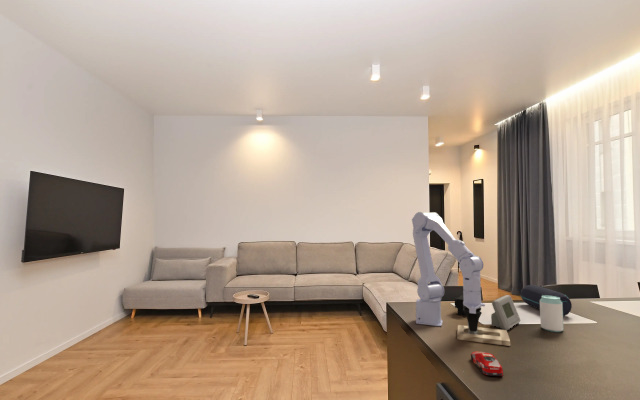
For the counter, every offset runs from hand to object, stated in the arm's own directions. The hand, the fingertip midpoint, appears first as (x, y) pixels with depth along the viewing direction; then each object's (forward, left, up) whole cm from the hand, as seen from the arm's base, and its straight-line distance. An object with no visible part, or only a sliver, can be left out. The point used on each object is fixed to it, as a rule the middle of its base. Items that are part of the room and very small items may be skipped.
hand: (473, 329), depth 120 cm
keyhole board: (+3, 0, -2) cm, 4 cm away
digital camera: (-4, +31, -2) cm, 32 cm away
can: (+27, +19, -2) cm, 33 cm away
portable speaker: (+30, +50, -2) cm, 58 cm away
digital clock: (+12, +18, -2) cm, 22 cm away
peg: (0, 0, -2) cm, 2 cm away
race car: (+3, -27, -3) cm, 27 cm away
